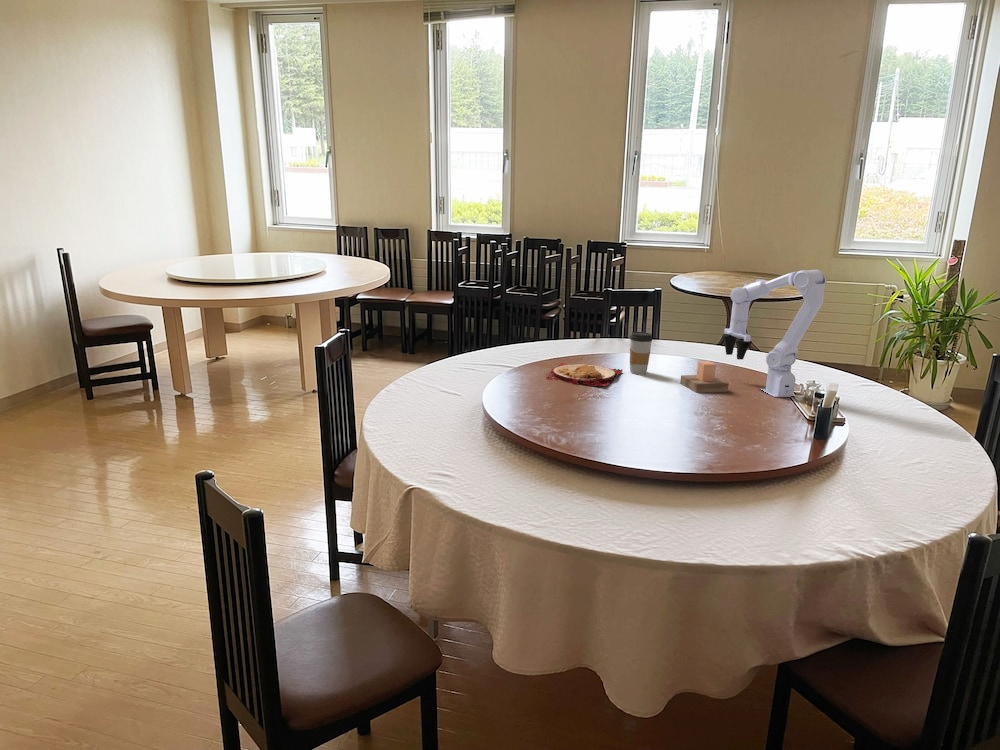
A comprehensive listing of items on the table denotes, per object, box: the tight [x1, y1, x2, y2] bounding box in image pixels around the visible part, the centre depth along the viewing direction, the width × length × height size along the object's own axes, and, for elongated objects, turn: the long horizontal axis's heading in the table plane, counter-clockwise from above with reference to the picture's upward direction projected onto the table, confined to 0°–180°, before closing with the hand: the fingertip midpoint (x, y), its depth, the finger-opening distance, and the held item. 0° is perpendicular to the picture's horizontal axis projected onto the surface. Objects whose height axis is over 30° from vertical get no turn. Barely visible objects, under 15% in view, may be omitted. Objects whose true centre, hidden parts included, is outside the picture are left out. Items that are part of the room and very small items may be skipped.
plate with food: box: [545, 363, 623, 387], centre depth 260 cm, size 25×26×4 cm
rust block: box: [696, 360, 717, 381], centre depth 250 cm, size 4×4×6 cm
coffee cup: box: [629, 331, 653, 375], centre depth 267 cm, size 8×8×15 cm
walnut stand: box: [680, 374, 730, 393], centre depth 251 cm, size 12×12×3 cm
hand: (734, 356), depth 258 cm, fingers open, 7 cm apart
